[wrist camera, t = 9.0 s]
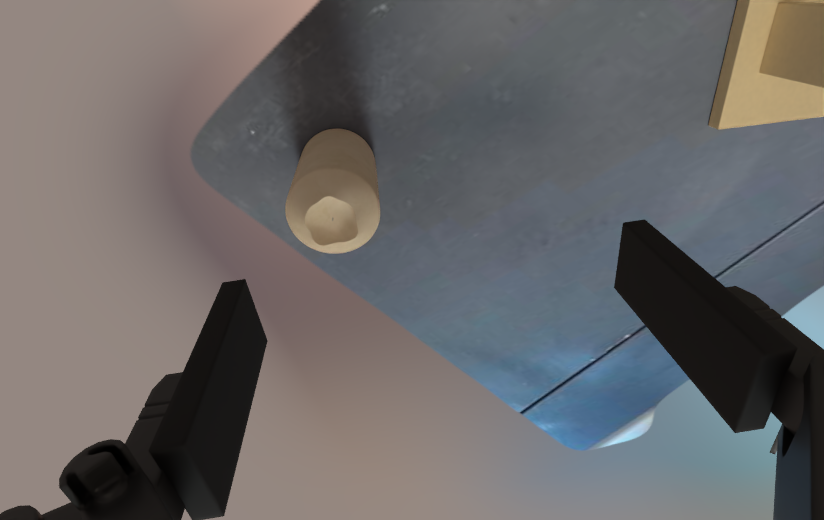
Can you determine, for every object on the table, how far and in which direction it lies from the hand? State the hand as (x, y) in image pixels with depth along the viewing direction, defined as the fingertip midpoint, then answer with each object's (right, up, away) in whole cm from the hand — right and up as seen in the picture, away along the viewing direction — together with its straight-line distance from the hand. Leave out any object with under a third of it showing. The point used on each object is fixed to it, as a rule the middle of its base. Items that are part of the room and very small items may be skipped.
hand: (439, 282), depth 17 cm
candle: (-6, +8, +19) cm, 21 cm away
